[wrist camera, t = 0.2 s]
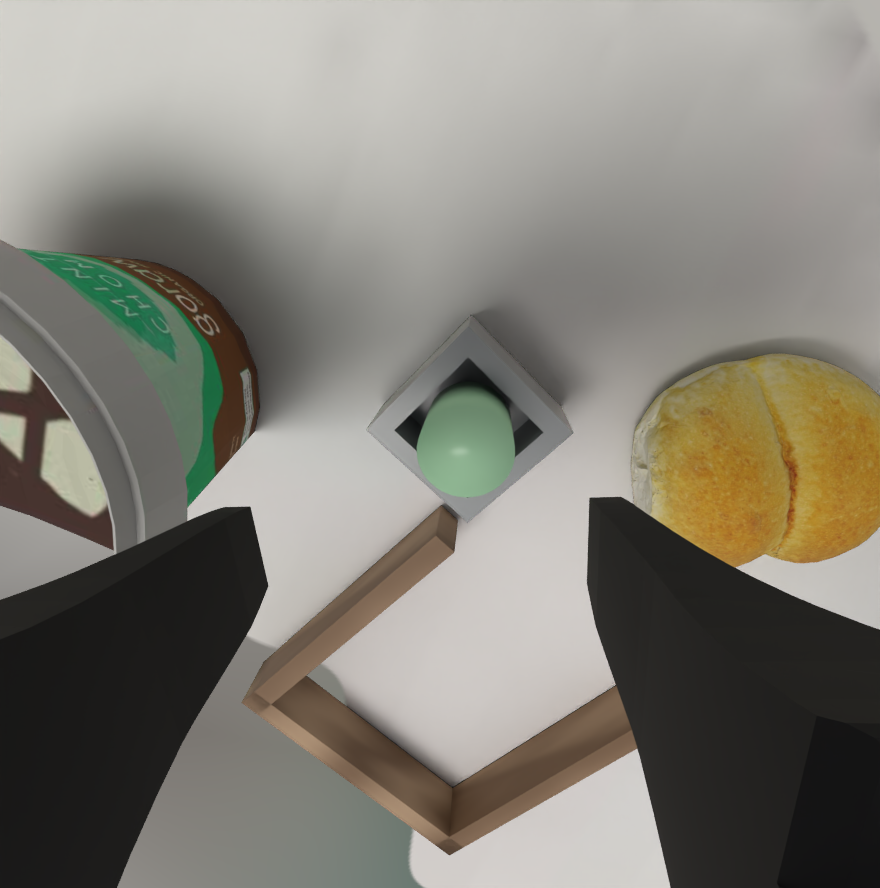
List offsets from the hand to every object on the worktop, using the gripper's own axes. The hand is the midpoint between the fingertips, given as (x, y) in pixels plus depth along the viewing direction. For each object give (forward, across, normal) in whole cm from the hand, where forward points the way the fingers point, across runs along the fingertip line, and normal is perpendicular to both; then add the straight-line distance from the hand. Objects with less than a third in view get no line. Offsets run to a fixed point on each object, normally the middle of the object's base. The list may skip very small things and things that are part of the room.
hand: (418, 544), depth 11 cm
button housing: (+10, -1, 0) cm, 10 cm away
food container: (+10, +11, -4) cm, 16 cm away
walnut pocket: (+10, +1, +13) cm, 17 cm away
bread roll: (+11, -11, +3) cm, 16 cm away
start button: (+8, -1, 0) cm, 8 cm away
